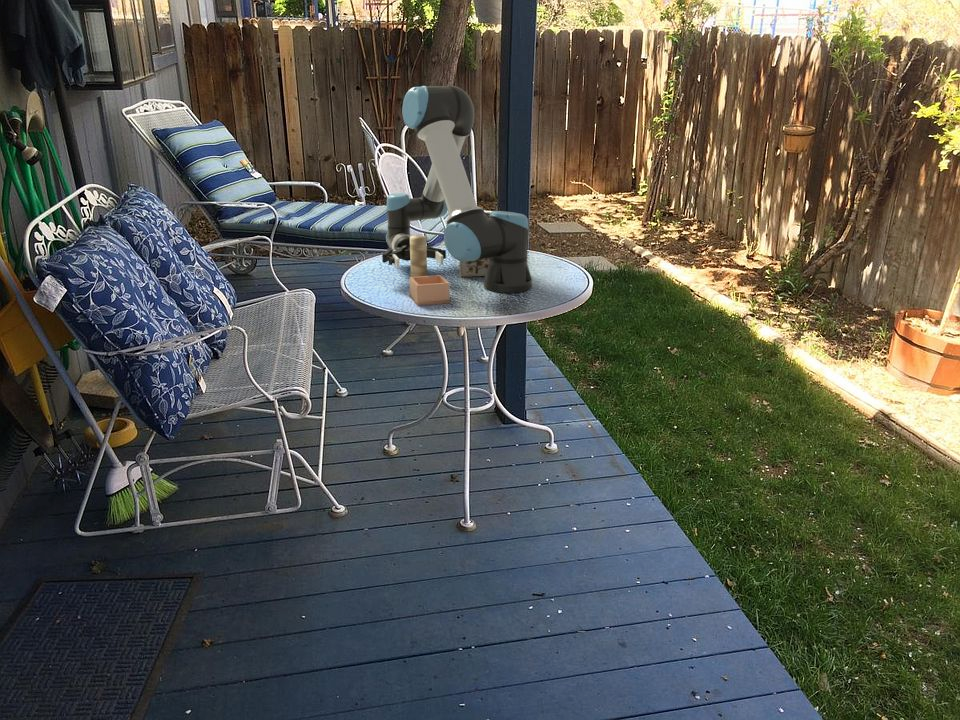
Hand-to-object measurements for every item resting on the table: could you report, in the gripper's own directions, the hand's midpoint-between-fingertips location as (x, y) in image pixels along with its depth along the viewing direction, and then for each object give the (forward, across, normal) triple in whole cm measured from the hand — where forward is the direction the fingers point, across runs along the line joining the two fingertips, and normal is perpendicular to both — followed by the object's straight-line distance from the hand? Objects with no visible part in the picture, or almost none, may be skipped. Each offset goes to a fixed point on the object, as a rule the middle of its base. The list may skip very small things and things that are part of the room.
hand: (420, 262), depth 226 cm
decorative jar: (-16, -23, -9) cm, 29 cm away
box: (+10, 0, -9) cm, 14 cm away
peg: (-3, 0, -9) cm, 9 cm away
